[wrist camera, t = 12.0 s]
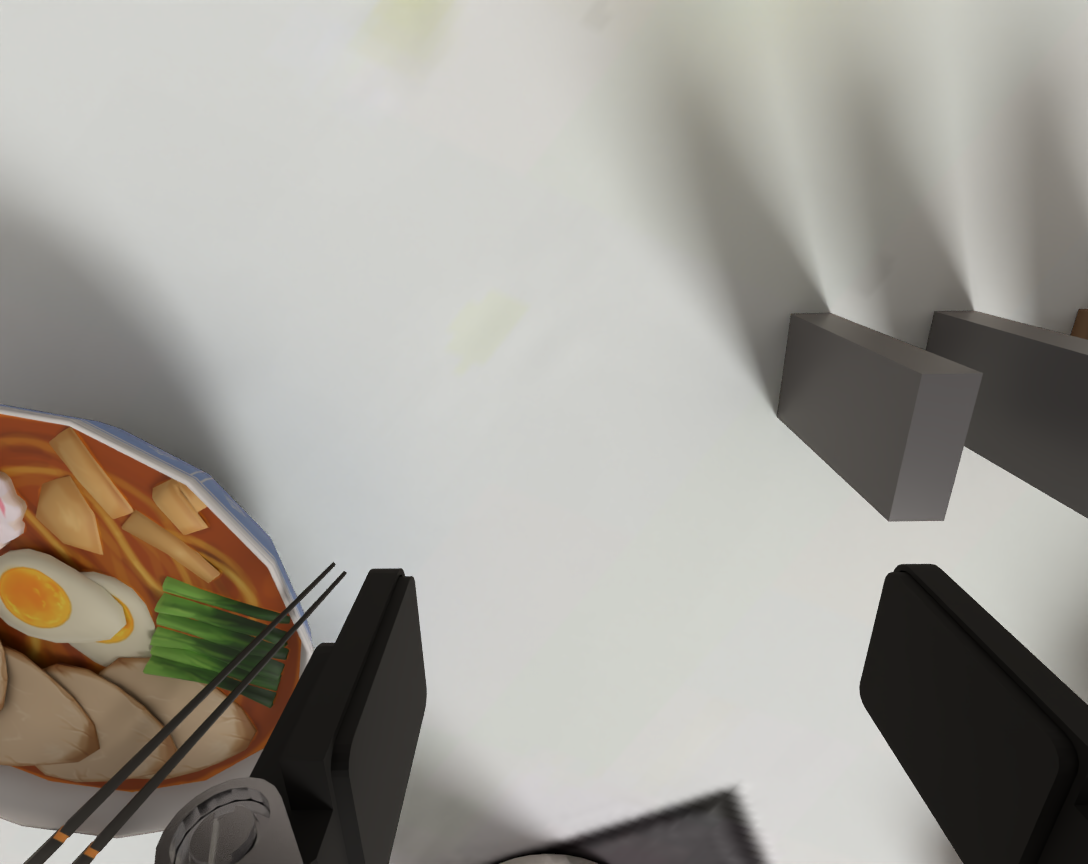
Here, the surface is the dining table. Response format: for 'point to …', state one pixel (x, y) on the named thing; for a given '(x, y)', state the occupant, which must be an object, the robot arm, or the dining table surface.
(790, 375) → the domino
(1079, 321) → the domino
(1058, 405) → the domino
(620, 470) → the dining table surface
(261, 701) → the ramen bowl
